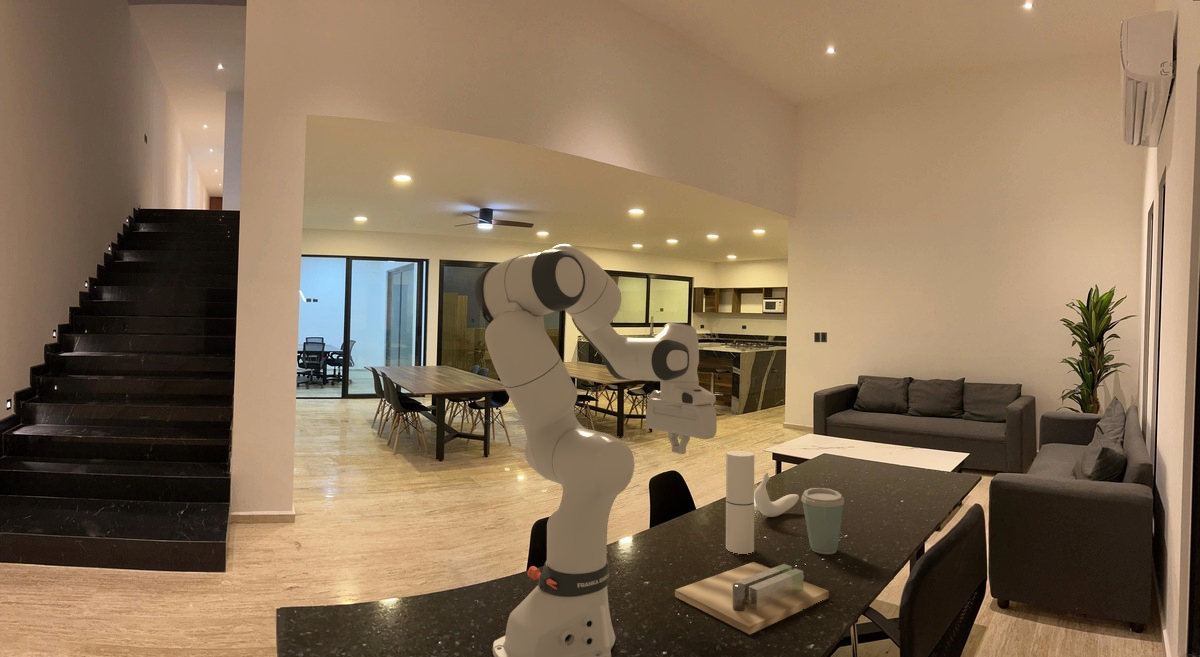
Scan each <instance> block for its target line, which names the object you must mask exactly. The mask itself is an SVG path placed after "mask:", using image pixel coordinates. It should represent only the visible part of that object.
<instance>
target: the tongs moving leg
mask: <svg viewBox="0 0 1200 657" xmlns="http://www.w3.org/2000/svg"><path fill="white" fill-rule="evenodd" d="M770 568H771V569H768V570H766V571H763V572H760V573H758V574H755V575H752V576H750V577H747V578H744V579H741V580H739V581H736V583H734V584H733V598H732V608H733V609H734V610H736V611H744V610H745V604H746V603H749V586H751V585H754V584H757V583H759V582H762V581H764V580H767V579H769V578H772V577H775V576H777V575H780V574H782V573H785V572H787V571H790V570H792V569H793V566H792V565H789V564H786V563H783V564H780V565H777V566H774V567H770Z"/></svg>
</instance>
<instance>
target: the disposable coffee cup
mask: <svg viewBox="0 0 1200 657" xmlns="http://www.w3.org/2000/svg"><path fill="white" fill-rule="evenodd" d="M800 499H801V500H800V501H802V507H803V513H804V519H805V520H804V521H805V525H806V530H807V536H808V537H807V538H808V540H809V541H808V542H809V547H810V549H811V550H812V552H814V553H818V554H822V555H833V554H836V553H837V550H838V548H839V541H840V532H841V526H842V518H843V509H844V505H845V498H844V497H843V494H841V493H840V492H839V491H838V490H834V489H831V488H826V487H811V488H808V489H805V490H804V492H803V493H802V495H801V498H800Z"/></svg>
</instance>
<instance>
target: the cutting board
mask: <svg viewBox="0 0 1200 657" xmlns="http://www.w3.org/2000/svg"><path fill="white" fill-rule="evenodd" d="M771 568H772V567H768V566H765V565H763V564H761V563H757V562H754V561H752V562H749V563H746V564H744V565H741V566H738V567H736V568H732V569H730V570H726V571H723V572H721V573H719V574H716V575H713V576H710V577H707V578H704V579H702V580H699V581H695V582H692V583H690V584H687V585H685V586H682V587H679V588H676V589H674V597H675V598H676V599H679V600H680V601H683V602H685V603H686V604H688V605H690V606H692V607H694V608H697V609H699V610H701V611H702V612H704V613H706V614H708V615H710V616H712V617H714V618H715V619H718V620H720V621H722V622H724V623H726V624H728V625H729V626H732V627H733V628H736V629H738V630H740V631H741V632H744V633H746V634H748V635H749V636H750V635H752V634H754V633H757V632H758V631H761V630H762V629H764V628H767V627H768V626H772V625H773V624H776V623H777V622H779V621H780V622H781V621H782V620H784V619H786V618H788V617H791V616H793V615H795V614H797V613H799V612H801V611H804V610H805V609H808V608H811V607H812V606H814V604H815V605H816V603H817V604H819V603H821V602H823V601H825V600H828V599H829V598H830V593H829V592H830V591H829V590H828V589H825V588H822V587H819V586H817V585H815V584H812V583H810V582H807V581H804V580H803V590H802V591H800V592H798V593H795V594H793V595H791V596H788V597H786V598H784V599H781V600H779V601H777V602H774V603H772V604H770V605H767V606H765V607H763V608H760V609H758V610H756V609H753V608H751V607H749V603H746V604H745V610H744V611H736V610H734V609H733V608H732V598H733V584H734V583H736V581H739V580H741V579H744V578H747V577H750V576H752V575H755V574H758V573H760V572H763V571H766V570H768V569H771ZM822 600H823V601H822ZM820 601H821V602H820ZM818 602H819V603H818ZM803 609H804V610H803Z"/></svg>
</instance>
